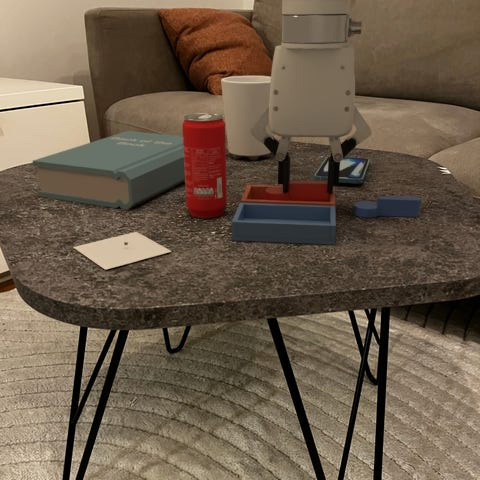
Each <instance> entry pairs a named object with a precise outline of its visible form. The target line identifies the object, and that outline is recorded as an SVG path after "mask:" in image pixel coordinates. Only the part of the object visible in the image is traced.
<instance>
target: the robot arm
mask: <svg viewBox="0 0 480 480" xmlns="http://www.w3.org/2000/svg"><path fill="white" fill-rule="evenodd" d="M350 11H351V0H281V34H280V35H281V39H280V40H281V42H280V45H276V46H275V48H274V52H273V57H272V63H271V64H272V65H271V72H270V73H271V74H270V77H271V83H270V96H269V106H268V107H267V109H266V110H265V111H264V113H263V114H262V115H261V116H260V118H259V119H258V120H257V122H256V123H255V124H254V126H253V127H252V129H251V134H252V135H253V136H254V137H255V138H257V139H258V140H259V141H260V142H262V143H263V144H264V145H265V146H266V147H267V148H268V150H269V151H270V152H271V155H273V156H274V157H275V159H276V160H277V185H280V186H283V193H287V192H289V181H291V157H290V153H289V151H288V149H289V148H290V147H289V146H290V143H291V140H292V138H327V139H328V142H329V146H330V147H329V148H330V151H331V153H330V155H329V156H330V158H329V161H328V178H327V193H329V194H333V187H339V186H340V182H339V172H340V162H341V161H342V159H343V158H344V157H347V156H348V154H350V153H351V151H353V150H354V149H355V148H356V147H357V146H359V144H361V143H363V142H365V140H367V139H368V138H369V137H371V136H372V128H371V127H370V126H369V124H368V123H367V121H366V120H365V118H364V117H363V115H362V114H361V113H360V111H359V110H358V109H357V107H356V106H355V105H356V102H355V100H356V59H355V57H356V56H355V50H354V49H355V48H354V45H352V44H348V40H349V38H351V37H352V36H353V37H354V36H355V35H361V34H362V28H363V27H362V25H363V22H362V20H359V21H358V20H356V19H353V18H352V17H350V13H351V12H350ZM268 123H269V129H270V131H271V132H272V133H273V134H274V136H278V137H280V140H279V141H278V140H277V139H276V138H275V137H273V136H271V135H270V134H269V133H268V132H267V131H266V130H265V127H266V126H267V124H268ZM353 125H354V126H353ZM353 127H355V128H356V131H355V132H354V133H353V134H351V135H349V134H350V133H351V132H352V130H353ZM347 135H349V136H348V137H346V138H345V139H344V141H342V142H341V137H345V136H347Z"/></svg>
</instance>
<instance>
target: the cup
mask: <svg viewBox="0 0 480 480" xmlns="http://www.w3.org/2000/svg"><path fill="white" fill-rule="evenodd" d="M220 83H221V84H220V85H221V93H222V104H223V112H224V113H223V114H224V119H225V120H224V122H225V133H226V140H227V148H228V149H227V150H228V153H229V154H230V155H231V156H232V158H233V159H234V160H241V159H243V158H245V157H246V158H247V159H248V160H250V161H253V162H254V161H257V160H259V158H263V159H268V158H270V157H271V155H272V153H271V152H270V151H269V150H268V148H267V147H266V146H265V145H264V144H263V143H262V142H260V141H259V140H258V139H257V138H255V137H254V136H253V135H252V134H251V129H252V127H253V126H254V124H255V123H256V122H257V120H258V119H259V118H260V116H261V115H262V114H263V113H264V111H265V110H266V109H267V107H268V106H269V96H270V83H271V76H267V75H234V76H233V75H232V76H228V77H223V78H221V80H220ZM265 130H266V131H267V132H268V133H269V134H270V135H271V136H273V137H274V136H275V134H273V133H272V132H271V131H270V129H269V123H268V124H267V126H266V127H265ZM274 138H275V137H274Z"/></svg>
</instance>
